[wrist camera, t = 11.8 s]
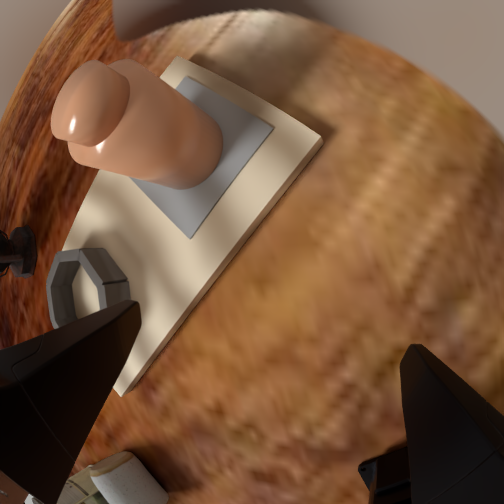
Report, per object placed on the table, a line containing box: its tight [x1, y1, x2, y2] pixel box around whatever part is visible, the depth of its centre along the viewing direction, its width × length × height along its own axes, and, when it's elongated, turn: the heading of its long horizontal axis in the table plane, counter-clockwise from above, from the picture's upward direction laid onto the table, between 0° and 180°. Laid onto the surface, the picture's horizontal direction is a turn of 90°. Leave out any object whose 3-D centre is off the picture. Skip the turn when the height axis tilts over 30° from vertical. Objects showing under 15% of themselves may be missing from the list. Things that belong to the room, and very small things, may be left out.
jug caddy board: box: [46, 56, 324, 397], centre depth 23 cm, size 30×16×4 cm, turn 140°
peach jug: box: [51, 59, 223, 190], centre depth 17 cm, size 9×6×11 cm
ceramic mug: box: [90, 451, 169, 504], centre depth 25 cm, size 11×8×8 cm
